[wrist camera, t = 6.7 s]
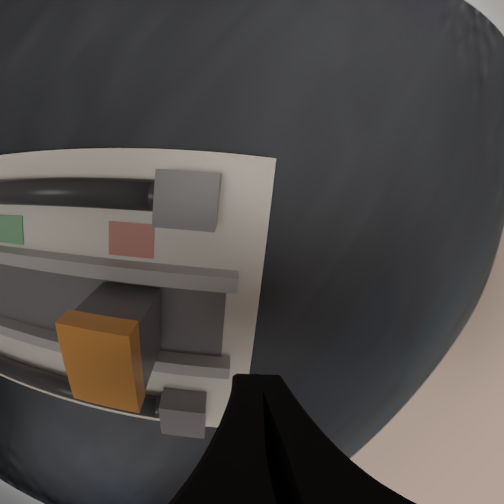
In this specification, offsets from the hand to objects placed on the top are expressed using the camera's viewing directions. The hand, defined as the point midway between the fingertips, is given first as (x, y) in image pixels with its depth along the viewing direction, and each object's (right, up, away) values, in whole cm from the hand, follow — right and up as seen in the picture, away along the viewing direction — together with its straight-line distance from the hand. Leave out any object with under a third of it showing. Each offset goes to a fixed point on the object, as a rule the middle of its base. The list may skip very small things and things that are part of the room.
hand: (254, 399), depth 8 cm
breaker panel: (-10, +2, +5) cm, 11 cm away
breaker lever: (-5, +2, +4) cm, 7 cm away
